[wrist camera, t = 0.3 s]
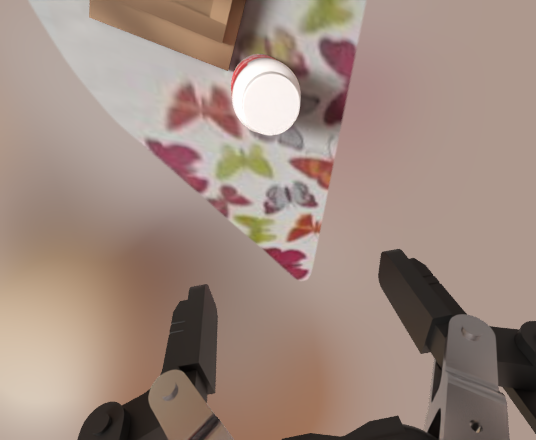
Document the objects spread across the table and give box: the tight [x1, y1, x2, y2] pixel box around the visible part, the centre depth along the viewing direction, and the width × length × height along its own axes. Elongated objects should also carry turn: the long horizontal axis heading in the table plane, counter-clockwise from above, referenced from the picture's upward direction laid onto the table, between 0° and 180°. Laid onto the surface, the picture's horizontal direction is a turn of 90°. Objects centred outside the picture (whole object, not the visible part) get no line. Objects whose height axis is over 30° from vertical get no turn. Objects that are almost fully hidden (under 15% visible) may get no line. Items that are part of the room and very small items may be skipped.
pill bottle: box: [231, 54, 301, 135], centre depth 27 cm, size 6×6×11 cm
